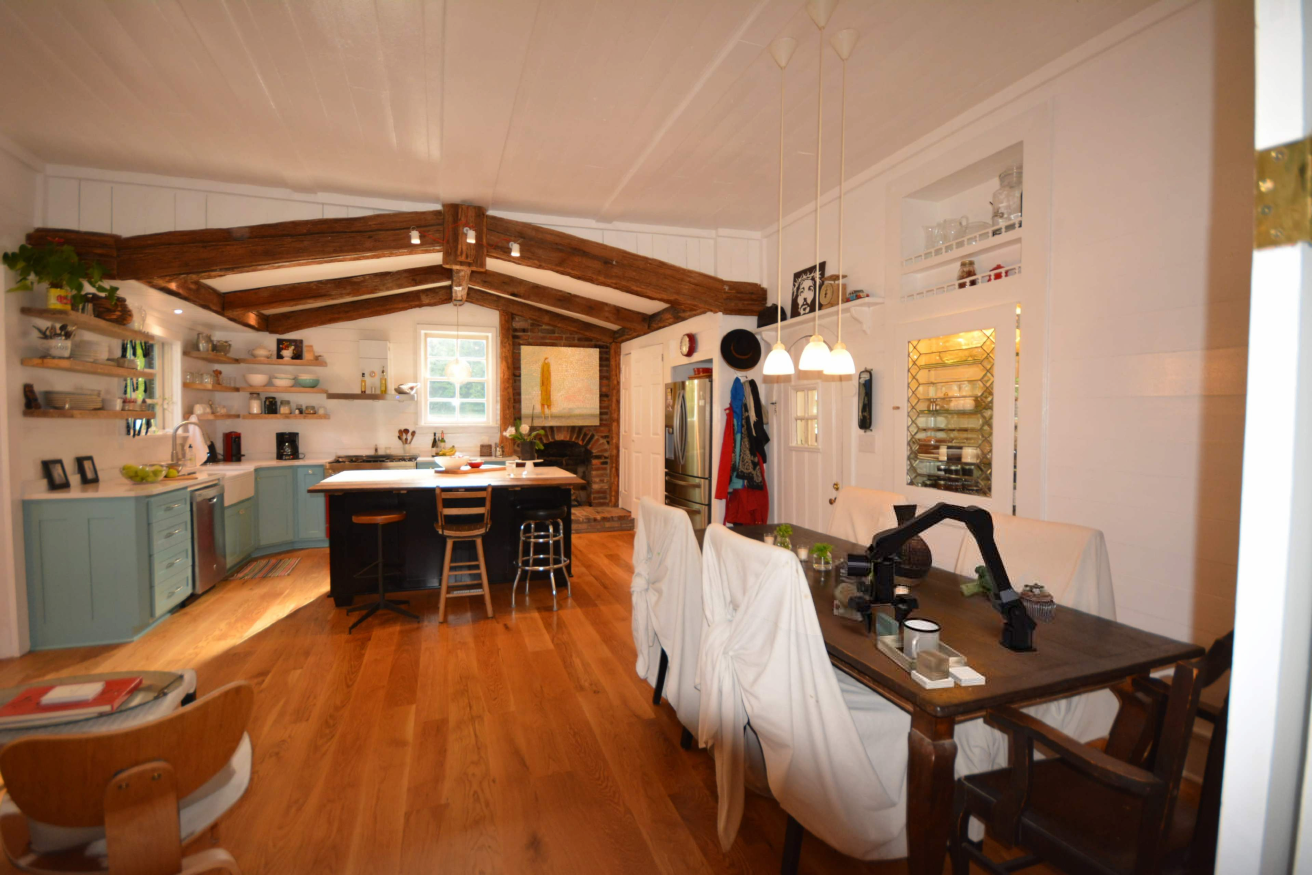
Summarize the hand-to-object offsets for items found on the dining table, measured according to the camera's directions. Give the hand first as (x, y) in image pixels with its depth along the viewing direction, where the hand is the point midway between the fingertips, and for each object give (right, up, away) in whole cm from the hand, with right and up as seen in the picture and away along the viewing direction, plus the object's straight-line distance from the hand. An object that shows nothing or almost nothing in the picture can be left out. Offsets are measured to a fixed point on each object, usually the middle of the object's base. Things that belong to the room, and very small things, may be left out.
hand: (882, 632), depth 164 cm
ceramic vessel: (+29, +1, +51) cm, 59 cm away
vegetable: (+48, 0, +34) cm, 59 cm away
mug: (+4, -3, -14) cm, 15 cm away
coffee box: (-3, -1, +18) cm, 19 cm away
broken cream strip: (+6, -3, -26) cm, 27 cm away
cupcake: (+55, -1, +17) cm, 58 cm away
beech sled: (+3, -2, -10) cm, 11 cm away
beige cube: (+1, -1, -26) cm, 27 cm away
